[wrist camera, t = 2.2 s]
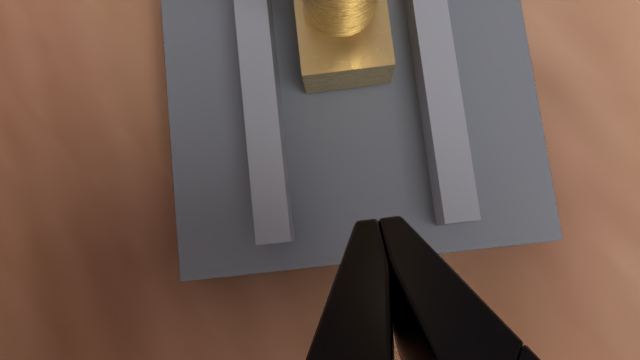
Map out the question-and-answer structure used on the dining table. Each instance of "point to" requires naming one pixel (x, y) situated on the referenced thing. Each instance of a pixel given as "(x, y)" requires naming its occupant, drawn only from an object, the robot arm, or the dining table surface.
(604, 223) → the dining table surface
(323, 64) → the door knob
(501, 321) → the robot arm
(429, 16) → the lock plate
